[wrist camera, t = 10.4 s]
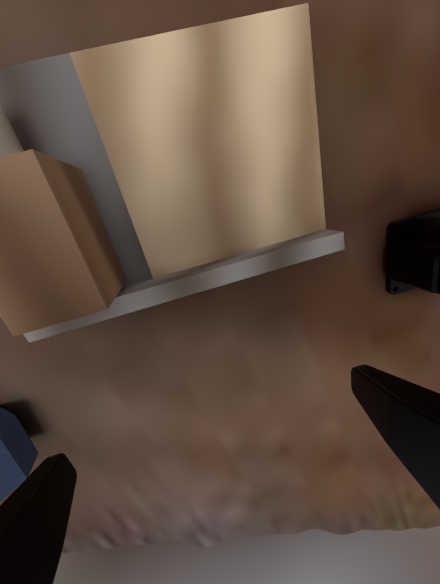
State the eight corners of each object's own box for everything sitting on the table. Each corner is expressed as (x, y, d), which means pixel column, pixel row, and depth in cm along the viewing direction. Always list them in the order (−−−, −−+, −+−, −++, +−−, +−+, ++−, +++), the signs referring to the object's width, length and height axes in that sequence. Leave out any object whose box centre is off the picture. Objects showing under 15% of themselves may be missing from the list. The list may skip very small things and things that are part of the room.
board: (295, 22, 14) (330, -31, 11) (316, 246, 20) (344, 254, 16) (-68, 100, 13) (-151, 64, 10) (58, 322, 18) (32, 348, 15)
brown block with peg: (54, 107, 13) (-15, 49, 8) (126, 280, 16) (107, 309, 12) (-33, 126, 12) (-159, 78, 8) (60, 298, 16) (13, 336, 11)
